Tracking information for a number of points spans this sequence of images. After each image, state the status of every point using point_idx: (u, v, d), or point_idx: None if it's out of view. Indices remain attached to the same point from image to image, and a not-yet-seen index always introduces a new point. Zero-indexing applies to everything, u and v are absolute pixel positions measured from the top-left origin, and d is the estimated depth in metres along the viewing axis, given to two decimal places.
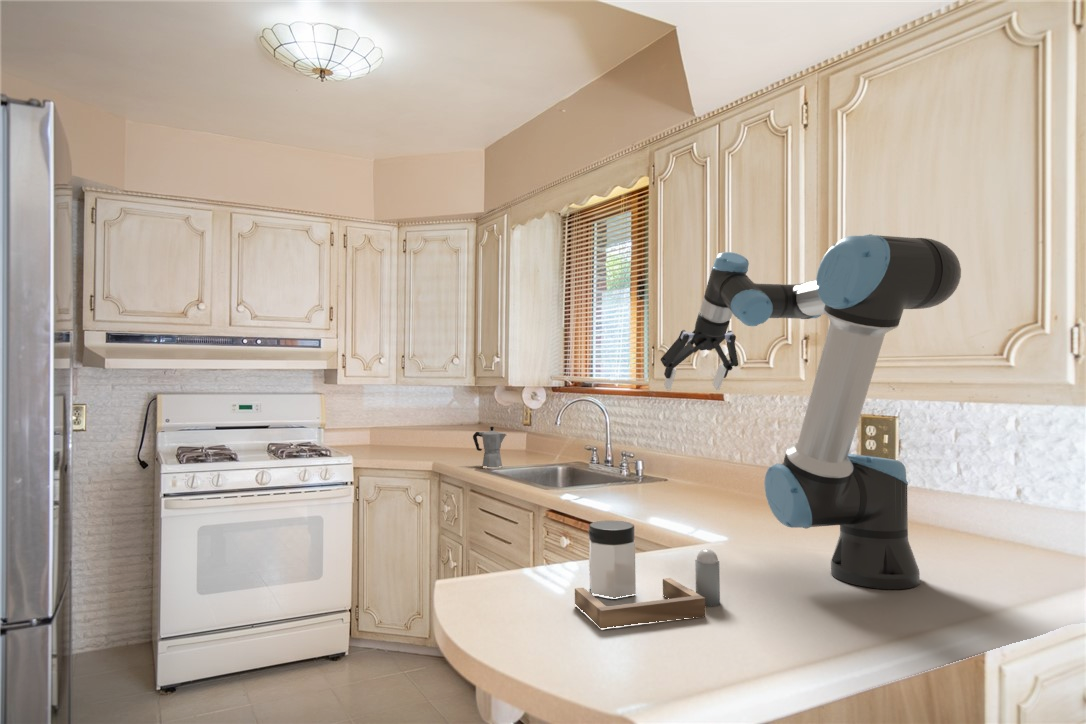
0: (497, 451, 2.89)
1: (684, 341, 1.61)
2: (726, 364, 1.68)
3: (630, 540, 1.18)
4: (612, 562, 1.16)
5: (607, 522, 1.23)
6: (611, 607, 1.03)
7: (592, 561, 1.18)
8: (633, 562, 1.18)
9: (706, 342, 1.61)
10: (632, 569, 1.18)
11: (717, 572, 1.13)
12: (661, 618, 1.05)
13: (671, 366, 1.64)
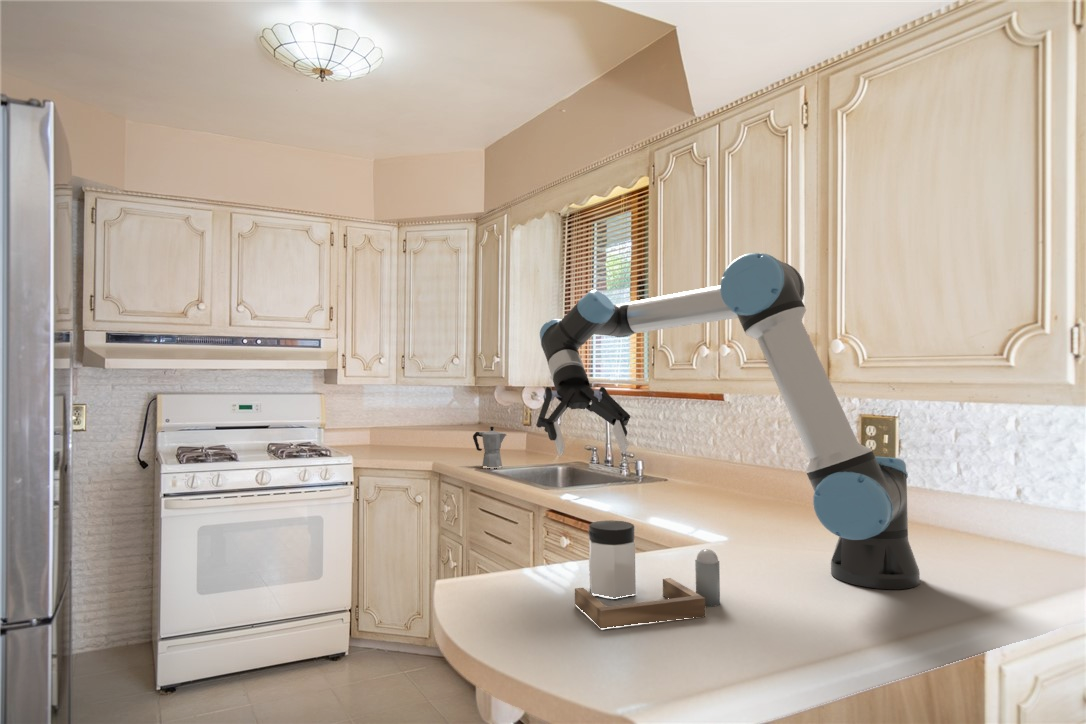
0: (497, 451, 2.89)
1: (548, 393, 1.41)
2: (615, 415, 1.41)
3: (630, 540, 1.18)
4: (612, 562, 1.16)
5: (607, 522, 1.23)
6: (611, 607, 1.03)
7: (592, 561, 1.18)
8: (633, 562, 1.18)
9: (573, 389, 1.43)
10: (632, 569, 1.18)
11: (717, 572, 1.13)
12: (661, 618, 1.05)
13: (549, 419, 1.36)
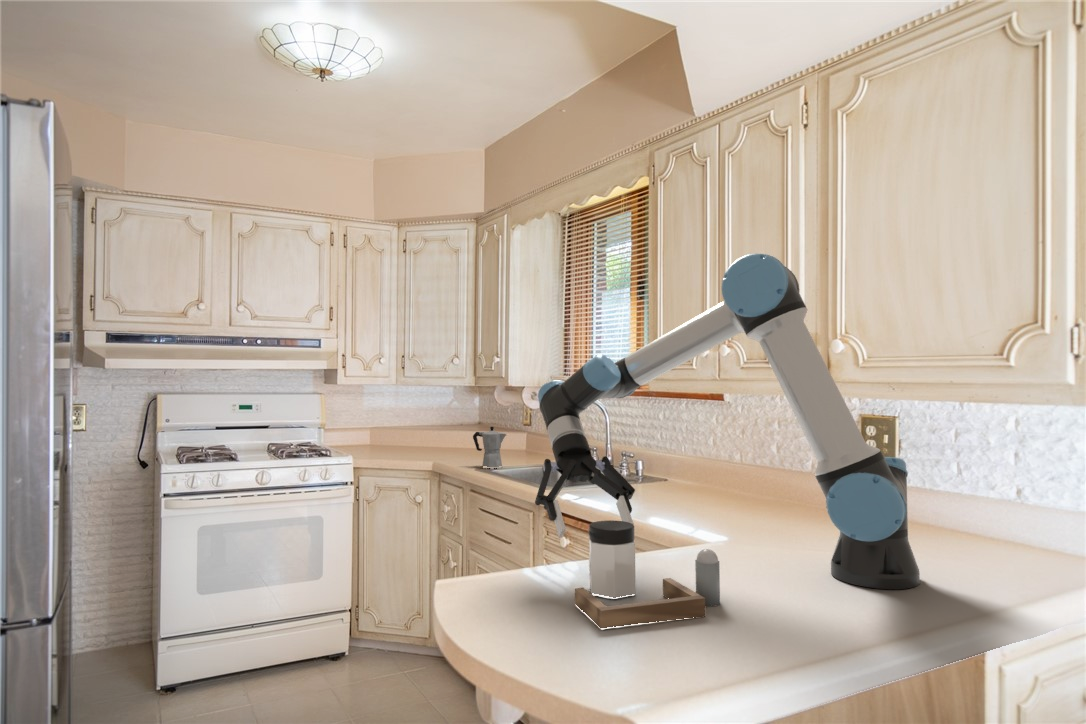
0: (497, 451, 2.89)
1: (547, 466, 1.33)
2: (619, 490, 1.32)
3: (630, 540, 1.18)
4: (612, 562, 1.16)
5: (607, 522, 1.23)
6: (611, 607, 1.03)
7: (592, 561, 1.18)
8: (633, 562, 1.18)
9: (573, 461, 1.34)
10: (632, 569, 1.18)
11: (717, 572, 1.13)
12: (661, 618, 1.05)
13: (548, 496, 1.27)
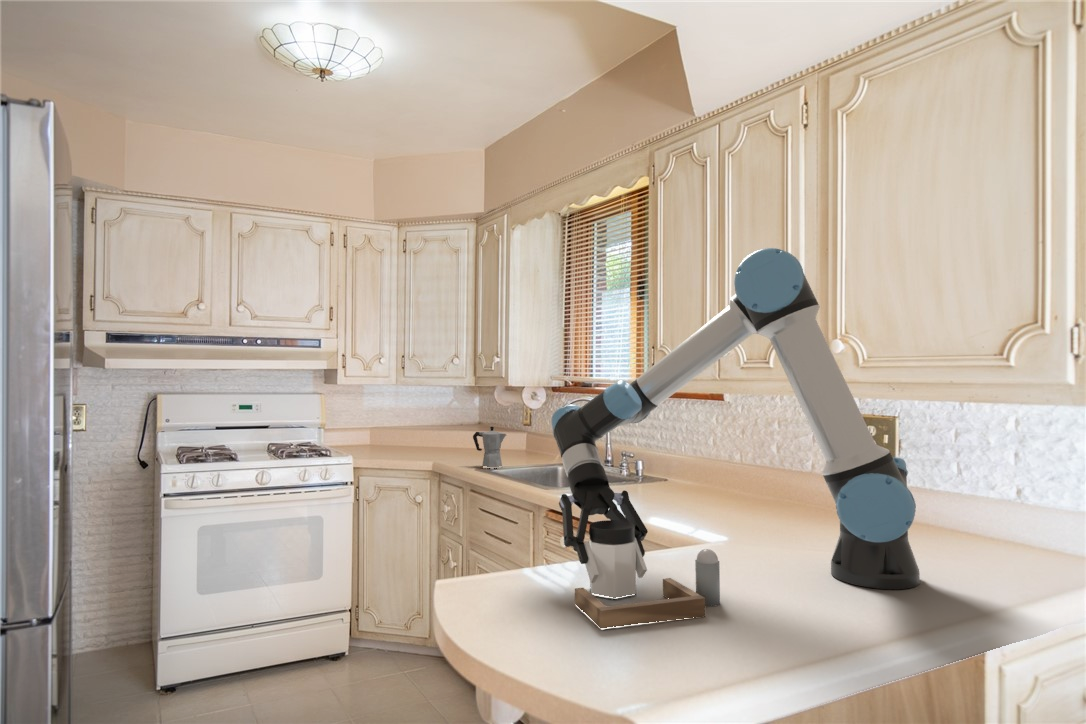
0: (497, 451, 2.89)
1: (566, 502, 1.25)
2: None
3: (630, 540, 1.18)
4: (612, 562, 1.16)
5: (607, 522, 1.23)
6: (611, 607, 1.03)
7: None
8: (633, 562, 1.18)
9: (591, 493, 1.27)
10: (632, 569, 1.18)
11: (717, 572, 1.13)
12: (661, 618, 1.05)
13: (579, 538, 1.19)
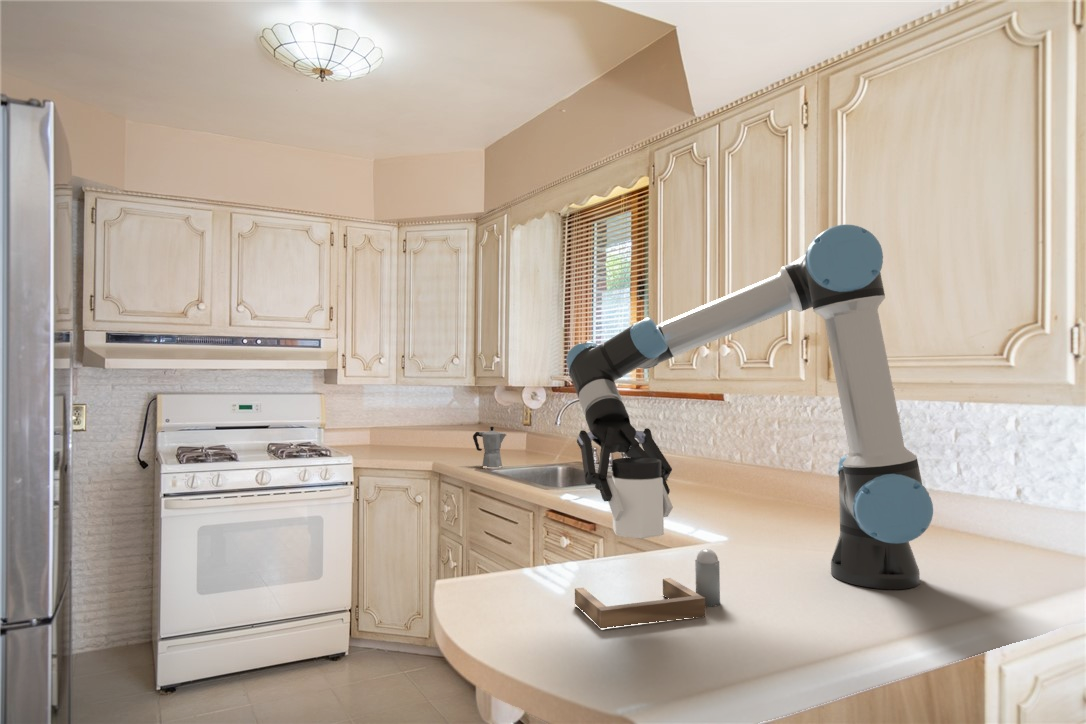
0: (497, 451, 2.89)
1: (585, 438, 1.16)
2: None
3: (657, 475, 1.09)
4: (639, 498, 1.07)
5: (631, 458, 1.14)
6: (611, 607, 1.03)
7: None
8: (661, 499, 1.09)
9: (611, 429, 1.18)
10: (660, 506, 1.09)
11: (717, 572, 1.13)
12: (661, 618, 1.05)
13: (601, 475, 1.10)
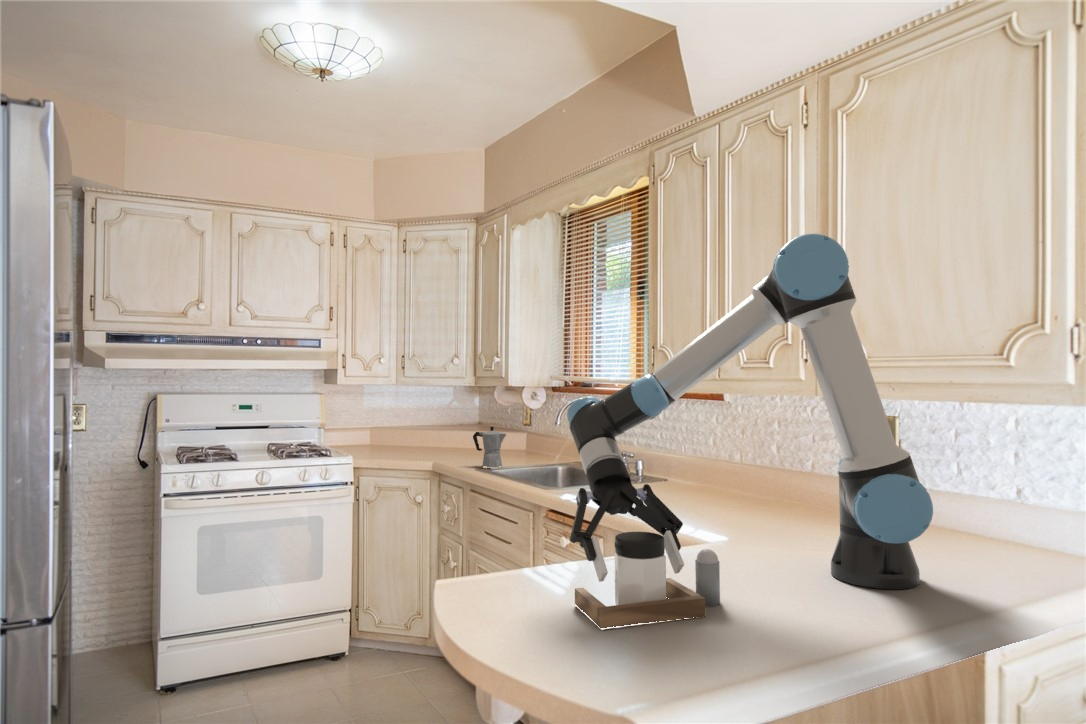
0: (497, 451, 2.89)
1: (582, 496, 1.16)
2: (665, 524, 1.15)
3: (660, 553, 1.08)
4: (642, 578, 1.07)
5: (634, 533, 1.13)
6: (611, 607, 1.03)
7: (619, 576, 1.09)
8: (664, 577, 1.08)
9: (612, 491, 1.17)
10: (663, 585, 1.08)
11: (717, 572, 1.13)
12: (661, 618, 1.05)
13: (586, 533, 1.10)
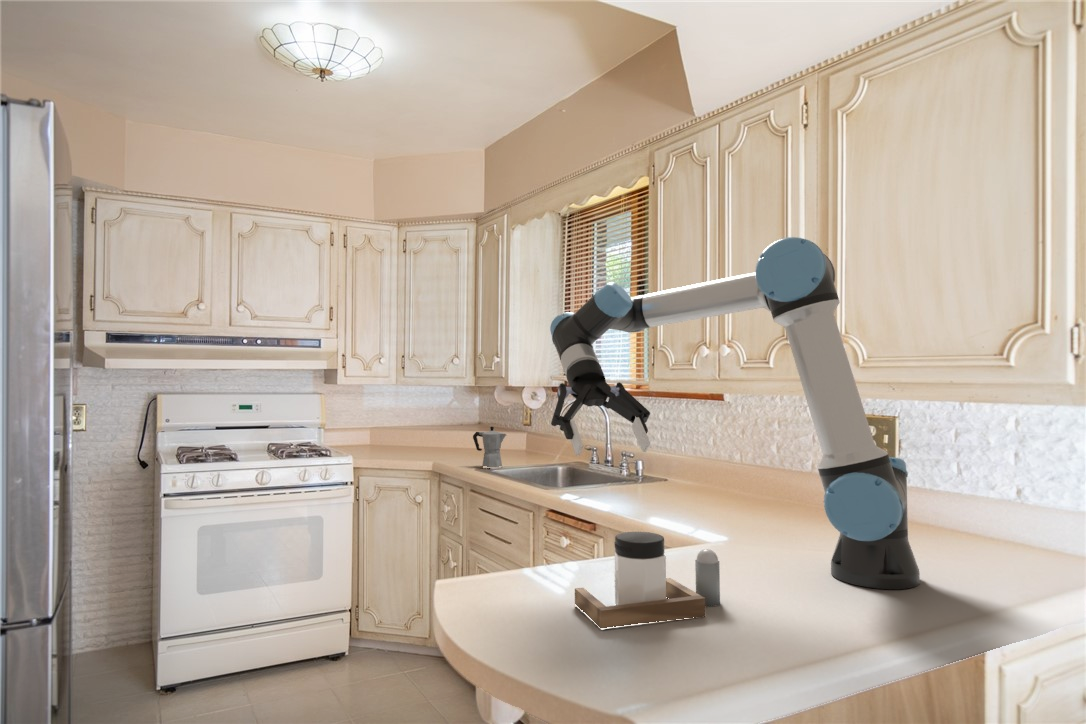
0: (497, 451, 2.89)
1: (562, 389, 1.33)
2: (634, 412, 1.32)
3: (660, 553, 1.08)
4: (642, 578, 1.07)
5: (634, 534, 1.13)
6: (611, 607, 1.03)
7: (619, 576, 1.09)
8: (664, 577, 1.08)
9: (588, 385, 1.34)
10: (663, 585, 1.08)
11: (717, 572, 1.13)
12: (661, 618, 1.05)
13: (565, 416, 1.27)
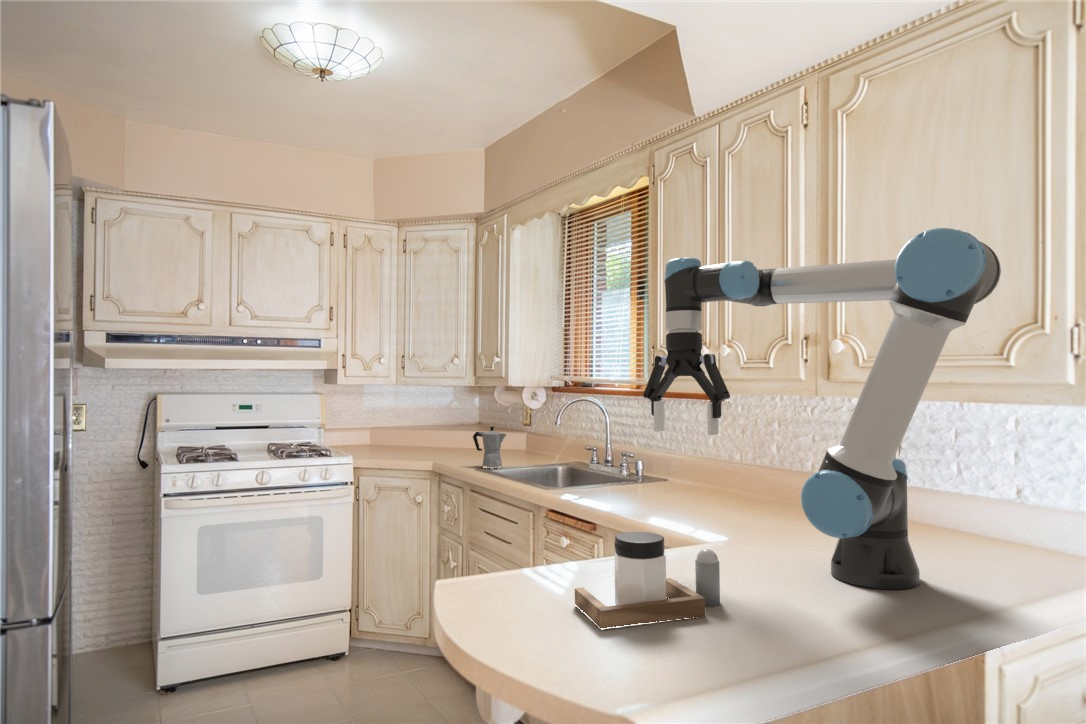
0: (497, 451, 2.89)
1: (655, 364, 1.46)
2: (709, 395, 1.36)
3: (660, 553, 1.08)
4: (642, 578, 1.07)
5: (634, 534, 1.13)
6: (611, 607, 1.03)
7: (619, 576, 1.09)
8: (664, 577, 1.08)
9: (674, 362, 1.41)
10: (663, 585, 1.08)
11: (717, 572, 1.13)
12: (661, 618, 1.05)
13: (650, 397, 1.47)
